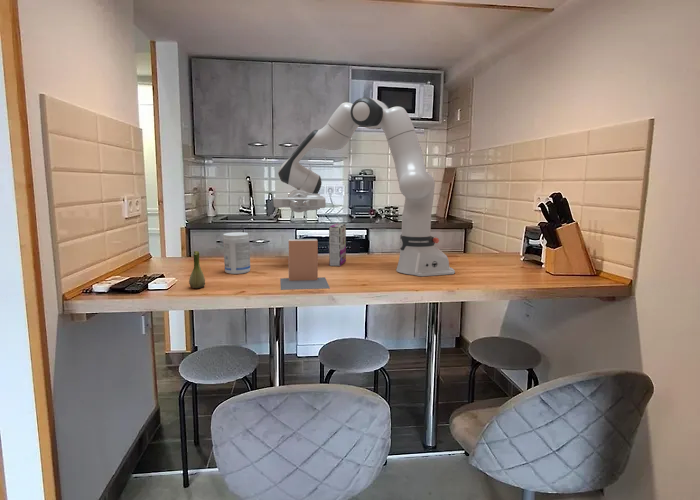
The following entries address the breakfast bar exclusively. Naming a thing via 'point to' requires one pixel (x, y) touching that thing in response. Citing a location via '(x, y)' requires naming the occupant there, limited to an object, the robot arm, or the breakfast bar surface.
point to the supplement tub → (236, 252)
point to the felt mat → (304, 284)
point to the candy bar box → (337, 244)
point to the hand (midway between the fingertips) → (300, 203)
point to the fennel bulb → (197, 273)
